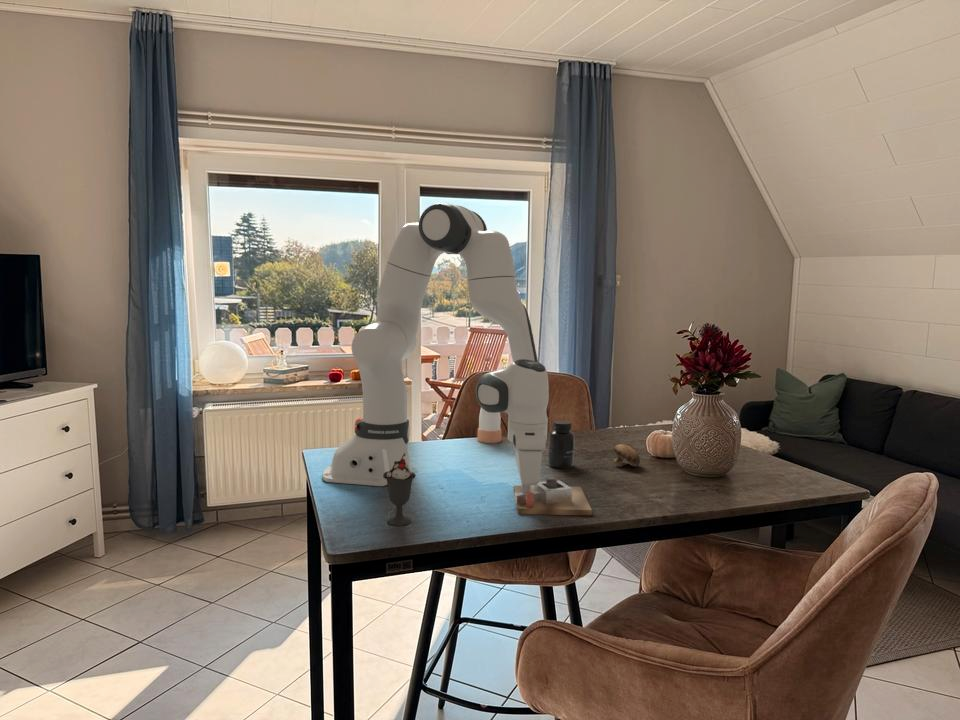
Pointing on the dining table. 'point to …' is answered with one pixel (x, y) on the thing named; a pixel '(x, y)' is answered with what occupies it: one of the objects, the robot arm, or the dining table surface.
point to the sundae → (399, 489)
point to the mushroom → (626, 456)
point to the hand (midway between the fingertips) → (525, 492)
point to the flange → (547, 494)
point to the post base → (574, 507)
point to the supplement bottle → (561, 445)
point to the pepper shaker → (489, 427)
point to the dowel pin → (529, 499)
